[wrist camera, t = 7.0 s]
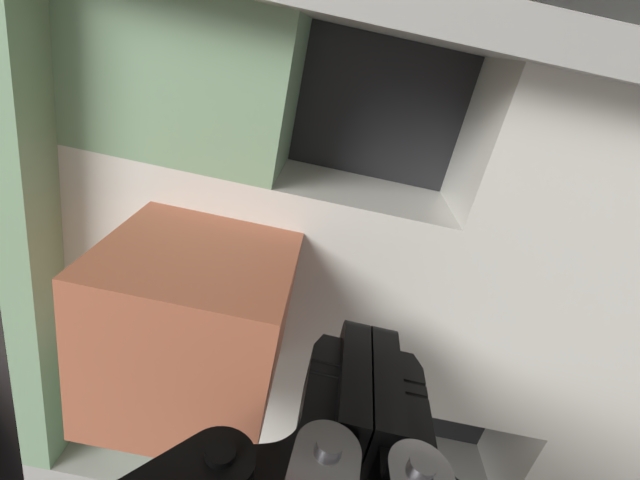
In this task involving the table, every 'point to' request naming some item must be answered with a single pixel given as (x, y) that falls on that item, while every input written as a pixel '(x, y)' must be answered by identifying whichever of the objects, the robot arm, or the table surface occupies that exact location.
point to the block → (172, 328)
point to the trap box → (351, 200)
